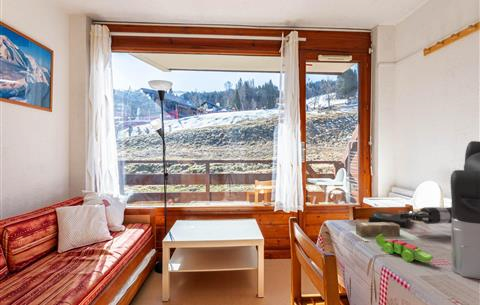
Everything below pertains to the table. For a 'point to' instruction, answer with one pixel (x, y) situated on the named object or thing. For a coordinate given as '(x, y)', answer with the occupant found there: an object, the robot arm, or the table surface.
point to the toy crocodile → (403, 249)
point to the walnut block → (377, 229)
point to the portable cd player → (388, 219)
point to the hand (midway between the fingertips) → (399, 216)
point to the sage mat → (402, 236)
